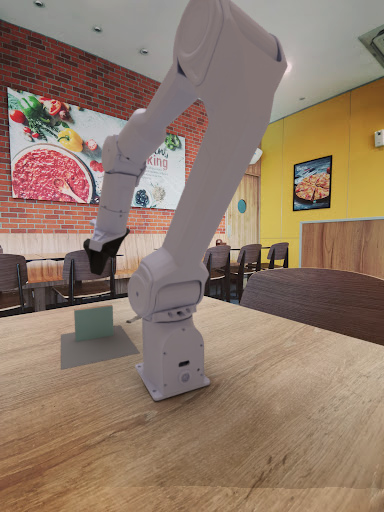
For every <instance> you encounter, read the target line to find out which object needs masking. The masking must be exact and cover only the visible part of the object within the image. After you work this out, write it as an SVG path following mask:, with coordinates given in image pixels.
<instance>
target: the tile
mask: <svg viewBox="0 0 384 512" xmlns="http://www.w3.org/2000/svg"><path fill="white" fill-rule="evenodd" d="M73 309H74V310H73V311H74V312H73V313H74V314H73V315H74V317H73V318H74V332H75V341H76V342H77V341H83V340H89V339H95V338H100V337H106V336H112V335H114V332H113V326H114V306H113V304H104V305H98V306H97V305H96V306H90V307H81V308H73Z"/></svg>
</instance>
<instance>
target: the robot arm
mask: <svg viewBox="0 0 384 512" xmlns="http://www.w3.org/2000/svg"><path fill="white" fill-rule="evenodd" d="M182 12H183V13H182V15H181V17H180V19H179V23H178V25H177V27H176V31H175V36H174V42H173V49H172V50H173V51H172V64H171V65H170V67H169V69H168V71H167V72H166V75H165V76H164V78H163V80H162V81H161V83H160V85H159V86H158V88H157V90H156V91H155V94H154V96H153V97H152V99H151V100H150V102H149V103H148V105H147V107H146V108H142V107H141V108H138V109H136V110H134V111H133V113H132V114H131V115H130V117H129V119H128V120H127V121H126V123H125V124H124V126H123V128H122V129H121V131H120V132H119V133H118V134H113V135H110V134H109V135H107V136H106V138H105V139H104V141H103V145H102V148H101V160H100V161H101V166H102V169H103V171H104V173H103V179H102V185H101V191H100V196H99V203H98V209H97V214H96V215H97V216H96V218H92V219H91V220H90V221H89V226H93V232H92V233H93V234H92V237H90V238H88V237H87V238H86V239H85V240H84V241H83V244H82V248H83V249H84V251H85V253H86V255H87V259H88V264H89V269H90V273H91V274H93V275H97V276H101V275H103V272H104V271H105V268H106V266H107V263H108V261H109V259H110V258H112V259H115V257H116V256H117V255H118V252H119V250H120V247H122V246H121V245H123V244H122V243H123V242H124V240H125V239H126V237H127V236H128V235H129V234H130V233H131V229H130V228H129V227H127V224H128V219H129V216H130V210H131V208H132V201H133V198H134V194H135V189H136V188H137V187H139V185H140V181H141V178H142V177H143V175H144V174H145V172H146V170H147V162H148V161H147V160H148V159H149V158H150V157H151V156H152V155H153V154H154V153H155V152H156V151H157V150H158V149H159V148H160V147H161V146H162V144H163V143H164V142H166V139H167V127H169V126H170V125H171V124H172V123H173V122H175V120H177V118H178V117H180V116H181V115H182V114H183V113H184V112H185V111H186V110H187V109H188V108H190V107H191V106H192V105H193V104H194V103H195V102H196V101H198V99H200V100H201V101H202V103H203V106H204V110H205V113H206V116H207V121H208V124H207V127H206V130H205V131H204V133H203V134H204V135H203V137H202V139H201V143H200V144H199V145H200V146H199V148H198V151H197V153H196V155H195V159H194V161H193V164H192V166H191V169H190V171H189V173H188V176H187V179H186V181H185V184H184V186H183V190H182V192H181V195H180V197H179V200H178V203H177V206H176V208H175V210H174V213H173V216H172V218H171V222H170V224H169V226H168V229H167V232H166V235H165V237H164V240H163V242H162V245H161V246H160V247H159V248H158V249H156V250H153V251H152V252H151V253H148V255H146V256H145V257H143V258H142V259H140V262H139V264H138V267H137V269H136V270H135V271H134V272H133V273H132V274H131V276H130V278H129V280H128V283H127V297H128V302H129V305H130V307H131V309H132V311H133V312H134V313H135V314H136V316H137V315H138V316H139V317H142V318H141V324H142V325H141V326H142V327H141V328H142V329H141V330H142V362H140V363H137V364H135V365H134V368H135V370H136V372H137V374H138V375H139V377H140V378H141V379H142V382H143V384H144V385H145V388H146V389H147V391H148V393H149V394H150V396H151V398H152V400H154V401H156V402H157V401H161V400H164V399H167V398H170V397H174V396H177V395H180V394H183V393H184V394H185V393H186V392H190V391H194V390H196V389H200V388H202V387H206V386H209V385H210V384H211V380H210V379H209V377H207V376H206V374H205V342H204V341H205V339H204V337H203V335H202V333H201V332H200V331H199V329H197V327H196V325H195V323H194V320H193V319H194V318H193V314H194V313H197V306H198V305H199V304H200V303H201V302H202V300H203V298H204V295H205V287H206V286H205V285H206V282H207V281H208V278H209V276H210V273H209V271H208V269H207V267H206V265H205V263H204V262H203V259H204V256H205V254H206V253H207V250H208V248H209V247H210V245H211V243H212V240H213V238H214V237H215V234H216V232H217V230H218V229H219V226H220V224H221V222H222V220H223V218H224V216H225V214H226V213H227V210H228V208H229V206H230V204H231V202H232V200H233V199H234V196H235V194H236V192H237V191H238V188H239V186H240V184H241V182H242V180H243V177H244V176H245V174H246V172H247V170H248V168H249V166H250V164H251V162H252V160H253V158H254V156H255V153H256V152H257V150H258V147H259V146H260V143H261V142H262V141H263V140H262V139H263V137H264V135H265V133H266V132H267V129H268V127H269V124H270V121H271V116H272V111H273V105H274V100H275V94H276V91H277V90H278V87H279V85H280V83H281V81H282V79H283V77H284V76H285V73H286V71H287V68H288V66H289V65H288V63H287V58H286V55H285V53H284V49H283V45H282V43H281V41H280V39H279V38H278V37H277V36H276V35H275V34H273V33H271V32H268V31H267V29H265V28H264V27H263V26H261V25H260V24H259V22H257V21H256V20H255V19H253V18H252V17H251V16H250V15H249V14H248V13H246V12H245V11H244V10H243V9H242V8H241V7H240V6H238V5H237V4H236V3H235V2H234V1H233V0H189V1H188V2H187V4H186V6H185V8H184V10H183V11H182Z"/></svg>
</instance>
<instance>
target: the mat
mask: <svg viewBox="0 0 384 512" xmlns="http://www.w3.org/2000/svg"><path fill="white" fill-rule="evenodd" d="M113 332H114V335H112V336H106V337H100V338H95V339H89V340H83V341H77V342H76V341H75V331H74V332H73V331H72V332H68V333H63V334H62V333H61V334H60V370H61V371H62V370H68V369H72V368H77V367H82V366H86V365H90V364H96V363H100V362H105V361H109V360H114V359H118V358H123V357H128V356H132V355H137V354H140V353H141V352H140V351H139V349H138V347H136V345H135V344H134V341H132V339H131V338H130V336H129V335H128V334H127V332H126V331H125V330H124V328H123V326H122V325H121V324H118V325H113Z"/></svg>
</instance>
